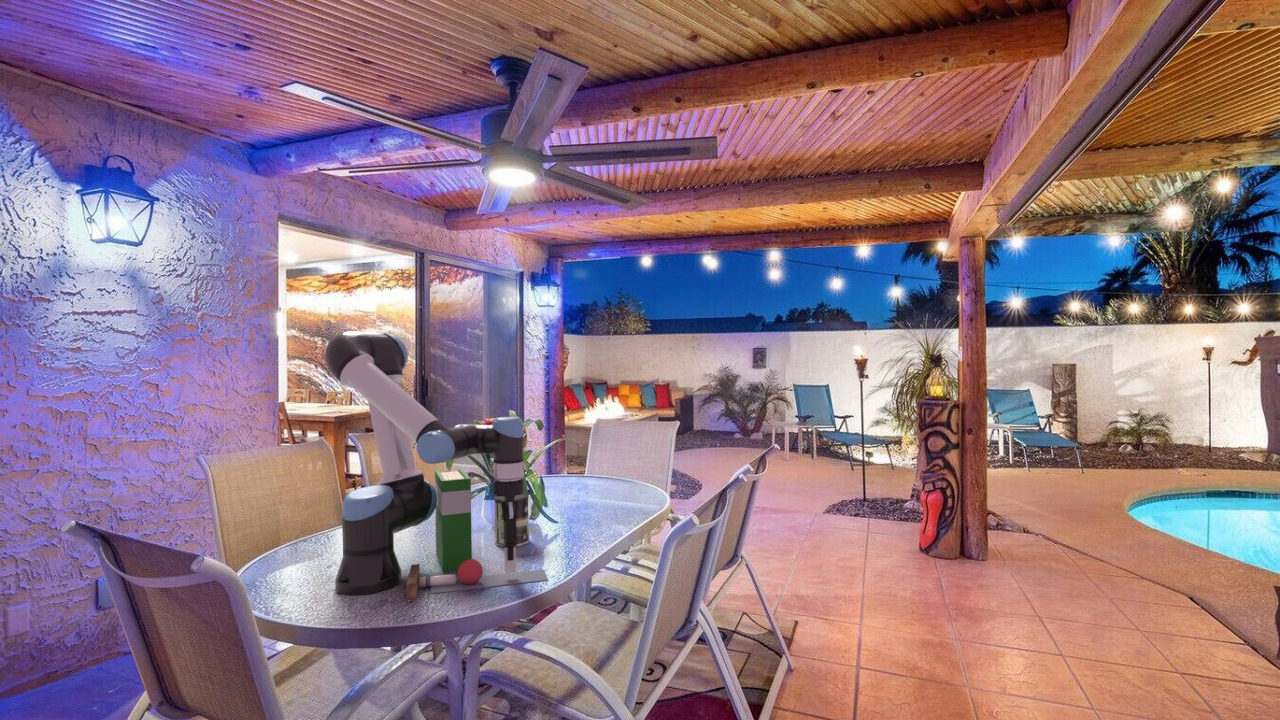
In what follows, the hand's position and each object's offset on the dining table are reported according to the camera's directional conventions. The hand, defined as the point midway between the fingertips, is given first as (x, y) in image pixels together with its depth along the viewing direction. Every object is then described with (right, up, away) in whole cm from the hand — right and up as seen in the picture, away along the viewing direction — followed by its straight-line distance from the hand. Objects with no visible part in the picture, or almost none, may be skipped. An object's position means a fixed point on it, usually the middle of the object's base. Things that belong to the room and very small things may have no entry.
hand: (510, 571), depth 154 cm
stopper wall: (-22, -2, -6) cm, 23 cm away
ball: (-9, +1, -3) cm, 10 cm away
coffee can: (-6, -2, +32) cm, 32 cm away
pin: (-13, -1, -3) cm, 13 cm away
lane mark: (-5, -2, -1) cm, 5 cm away
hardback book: (-19, -2, +15) cm, 25 cm away
